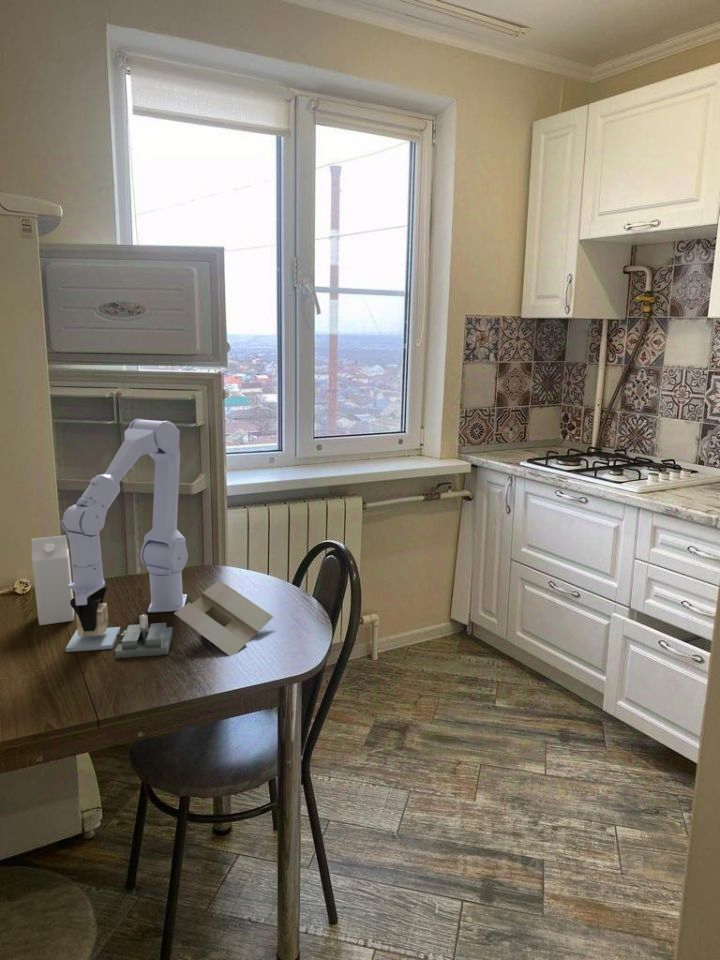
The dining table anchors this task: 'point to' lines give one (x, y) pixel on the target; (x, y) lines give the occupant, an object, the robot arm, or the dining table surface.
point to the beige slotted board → (224, 617)
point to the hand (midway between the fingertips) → (92, 624)
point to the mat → (93, 641)
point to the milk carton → (52, 579)
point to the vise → (144, 639)
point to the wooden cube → (100, 622)
